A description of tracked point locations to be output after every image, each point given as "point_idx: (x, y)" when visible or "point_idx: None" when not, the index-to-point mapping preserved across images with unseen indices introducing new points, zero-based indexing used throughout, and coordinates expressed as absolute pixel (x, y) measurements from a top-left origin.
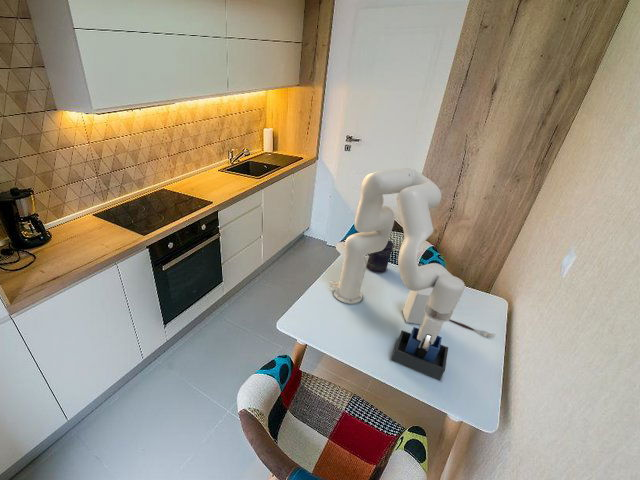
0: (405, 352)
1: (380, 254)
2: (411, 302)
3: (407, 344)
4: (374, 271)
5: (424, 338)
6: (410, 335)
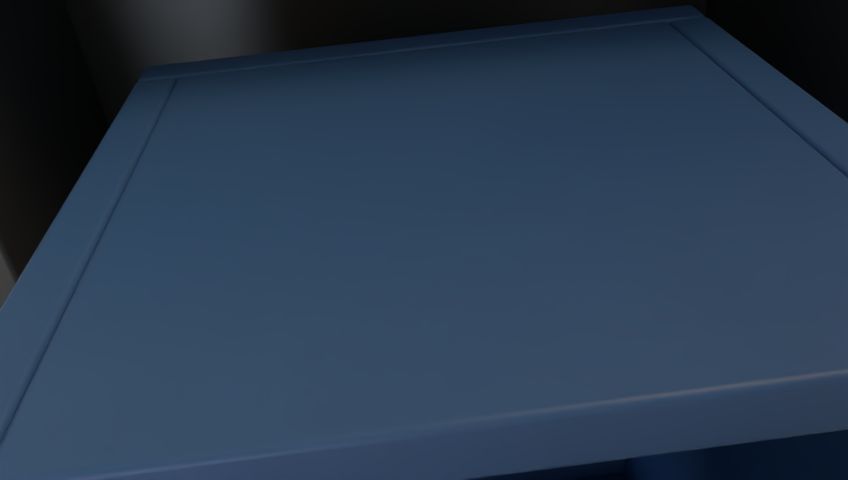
0: (393, 2)
1: None
2: None
3: (269, 119)
4: None
5: (725, 458)
6: (667, 137)
